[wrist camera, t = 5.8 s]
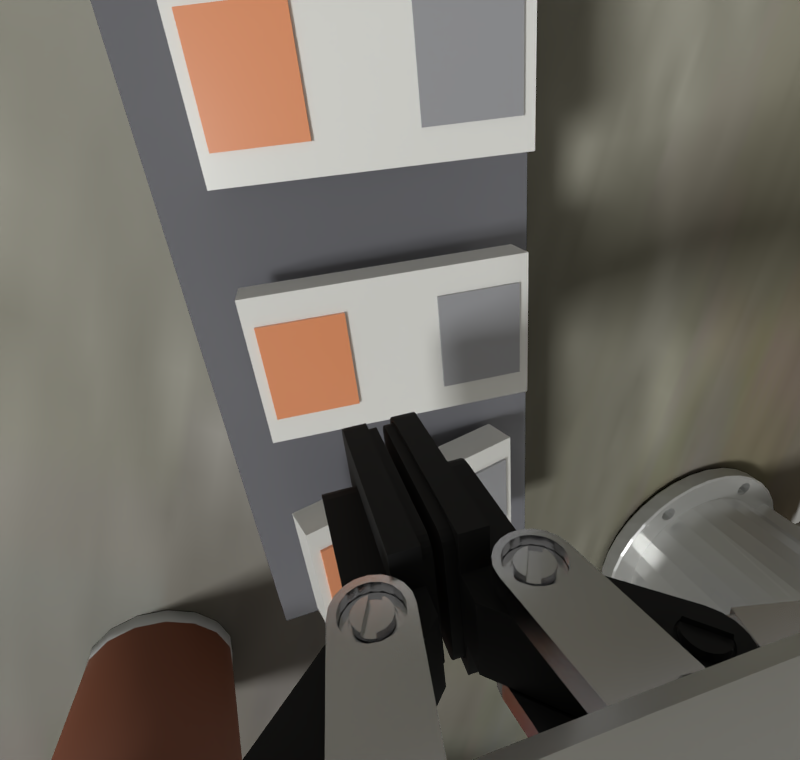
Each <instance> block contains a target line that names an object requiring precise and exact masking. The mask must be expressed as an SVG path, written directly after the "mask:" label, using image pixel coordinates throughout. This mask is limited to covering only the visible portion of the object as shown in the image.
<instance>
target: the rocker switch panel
mask: <svg viewBox="0 0 800 760" xmlns="http://www.w3.org/2000/svg"><path fill="white" fill-rule="evenodd" d="M90 1H91V4H92V7H93V10H94V13H95V16H96V20H97V23H98V26H99V29H100V32H101V35H102V39H103V42H104V45H105V48H106V51H107V54H108V58H109V61H110V64H111V67H112V70H113V73H114V77H115V80H116V83H117V86H118V89H119V92H120V96H121V99H122V102H123V105H124V108H125V111H126V115H127V118H128V121H129V124H130V127H131V130H132V133H133V137H134V140H135V143H136V146H137V149H138V152H139V156H140V159H141V162H142V165H143V168H144V171H145V175H146V178H147V181H148V184H149V187H150V190H151V194H152V197H153V200H154V203H155V206H156V209H157V213H158V216H159V219H160V222H161V225H162V228H163V232H164V235H165V238H166V241H167V244H168V247H169V251H170V254H171V257H172V260H173V263H174V266H175V270H176V273H177V276H178V279H179V282H180V285H181V289H182V292H183V295H184V298H185V301H186V304H187V308H188V311H189V314H190V317H191V320H192V323H193V326H194V330H195V333H196V336H197V339H198V342H199V345H200V349H201V352H202V355H203V358H204V361H205V364H206V368H207V371H208V374H209V377H210V380H211V383H212V387H213V390H214V393H215V396H216V399H217V402H218V406H219V409H220V412H221V415H222V418H223V421H224V425H225V428H226V431H227V434H228V437H229V440H230V444H231V447H232V450H233V453H234V456H235V459H236V463H237V466H238V469H239V472H240V475H241V478H242V482H243V485H244V488H245V491H246V494H247V497H248V501H249V504H250V507H251V510H252V513H253V516H254V520H255V523H256V526H257V529H258V532H259V535H260V538H261V542H262V545H263V548H264V551H265V554H266V557H267V561H268V564H269V567H270V570H271V573H272V576H273V580H274V583H275V586H276V589H277V592H278V595H279V599H280V602H281V605H282V608H283V611H284V614H285V618H286V621H287V620H290V619H294V618H297V617H300V616H303V615H306V614H309V613H312V612H315V611H318V608H317V604H316V600H315V597H314V593H313V589H312V585H311V582H310V578H309V574H308V571H307V567H306V563H305V559H304V556H303V552H302V548H301V545H300V541H299V537H298V533H297V530H296V526H295V522H294V519H293V515H292V513H294V512H296V511H298V510H301V509H303V508H305V507H307V506H309V505H312V504H314V503H316V502H318V501H320V500H322V494H326V493H330V492H333V491H337V490H341V489H345V488H349V487H351V486H352V484H351V479H350V473H349V468H348V463H347V457H346V452H345V447H344V441H343V436H342V429H340V430H335V431H330V432H325V433H320V434H316V435H311V436H306V437H301V438H296V439H291V440H286V441H281V442H277V443H273V441H272V437H271V433H270V430H269V426H268V422H267V418H266V415H265V411H264V407H263V404H262V400H261V396H260V392H259V389H258V385H257V381H256V378H255V374H254V370H253V366H252V363H251V359H250V355H249V352H248V348H247V344H246V340H245V337H244V333H243V329H242V326H241V322H240V318H239V314H238V311H237V307H236V303H235V298H236V294H237V291H238V288H242V287H248V286H254V285H260V284H267V283H273V282H279V281H285V280H291V279H298V278H304V277H310V276H316V275H322V274H329V273H335V272H341V271H347V270H353V269H360V268H366V267H372V266H378V265H384V264H391V263H397V262H403V261H409V260H415V259H422V258H428V257H434V256H440V255H447V254H453V253H459V252H465V251H471V250H478V249H484V248H490V247H496V246H502V245H509V244H512V245H514V246H516V247H518V248H520V249H523V250H525V251H526V247H527V152H522V153H514V154H506V155H498V156H489V157H481V158H473V159H465V160H456V161H448V162H440V163H432V164H424V165H415V166H407V167H399V168H391V169H382V170H374V171H366V172H358V173H350V174H341V175H333V176H325V177H317V178H308V179H300V180H292V181H284V182H276V183H267V184H259V185H251V186H243V187H234V188H226V189H218V190H210V191H207V187H206V184H205V180H204V176H203V172H202V169H201V165H200V161H199V157H198V154H197V150H196V146H195V142H194V139H193V135H192V131H191V128H190V124H189V120H188V116H187V113H186V109H185V105H184V101H183V98H182V94H181V90H180V86H179V83H178V79H177V75H176V71H175V68H174V64H173V60H172V56H171V53H170V49H169V45H168V41H167V38H166V34H165V30H164V27H163V23H162V19H161V15H160V12H159V8H158V4H157V0H90ZM417 416H418V417H419V419H420V421H421V422H422V424H423V425H424V427H425V428H426V430H427V431H428V433H429V434H430V436H431V437H432V439H433V440H434V442H435V443H436V445H437V446H438V447H439V446H441V445H443V444H445V443H448V442H450V441H452V440H454V439H456V438H458V437H461V436H463V435H465V434H467V433H469V432H472V431H474V430H476V429H478V428H480V427H483V426H485V425H487V424H490V425H492V426H493V427H495V428H496V429H498V430H500V431H501V432H503V433H504V434H506V435H507V436H509V437H510V465H511V524H512V525H513V526H514V528H515V529H516V531H517V530H520V529H524V528H525V392H520V393H515V394H510V395H505V396H501V397H496V398H491V399H486V400H481V401H476V402H471V403H467V404H462V405H457V406H452V407H447V408H442V409H437V410H432V411H428V412H423V413H418V414H417ZM387 424H390V419H389V420H384V421H379V422H374V423H369V424H366V425H367V427H368V429H371V428H375V427H376V428H377V429H378V431H379V433H380V435H381V438H382V440H383V442H384V444H385V441H384V434H383V425H387Z"/></svg>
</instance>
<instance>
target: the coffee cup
mask: <svg viewBox="0 0 800 760" xmlns="http://www.w3.org/2000/svg"><path fill="white" fill-rule="evenodd" d="M52 760H242V755H241V745H240V735H239V725H238V714H237V704H236V694H235V684H234V674H233V653H232V646H231V639H230V635H229V634H228V633H227V632H226V631H225V630H224V629H223V627H222V626H221V625H220V624H219V623H218V622H217V621H215V620H212V619H210V618H208V617H205V616H203V615H201V614H198V613H196V612H184V611H170V610H166V611H161V612H156V613H151V614H146V615H141V616H136V617H134V618H132V619H130V620H128V621H126V622H124V623H122V624H120V625H118V626H116V627H114V628H112V629H110V630H109V631H108V632H107V633H106V634H105V635H104V636H103V637H102V638H101V639H100V640H99V641H98V642H97V643H96V644H95V645H94V646H93V647H92V650H91V653H90V656H89V659H88V662H87V665H86V669H85V672H84V674H83V677H82V680H81V682H80V685H79V688H78V690H77V693H76V696H75V698H74V701H73V704H72V706H71V709H70V712H69V714H68V717H67V720H66V722H65V725H64V728H63V730H62V733H61V736H60V738H59V741H58V744H57V746H56V749H55V752H54V754H53V757H52Z"/></svg>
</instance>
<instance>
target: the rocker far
mask: <svg viewBox="0 0 800 760" xmlns="http://www.w3.org/2000/svg"><path fill="white" fill-rule="evenodd" d="M438 448H439V449H440V451H441V452H442V454H443V455H444V457H445V458H446V460H447V461H451V460H455V459H459V458H463V459H465V460H466V462H467V463H468V464H469V465H470V467H471V468H472V470H473V471H474V472H475V474H476V475H477V476H478V478H479V479H480V481H481V482H482V483H483V485H484V486H485V488H486V489H487V490H488V492H489V493H490V494H491V496H492V497H493V499H494V500H495V501H496V503H497V504H498V506H499V507H500V508H501V510H502V511H503V512H504V514H505V515H506V517H507V518H508V519H509V521H510V522H511V465H510V437H509V436H507V435H506V434H504V433H503V432H501V431H500V430H498V429H496V428H495V427H493V426H492V425H490V424H487V425H485V426H483V427H480V428H478V429H476V430H474V431H472V432H469V433H467V434H465V435H463V436H461V437H458V438H456V439H454V440H452V441H450V442H448V443H445V444H443V445H441V446H439V447H438ZM351 487H352V486H351ZM292 515H293V519H294V522H295V526H296V530H297V533H298V537H299V541H300V545H301V548H302V552H303V556H304V559H305V563H306V567H307V571H308V574H309V578H310V582H311V585H312V589H313V593H314V597H315V600H316V604H317V608H318V610H319V611H320V613H321V615H322V617H323V619H324V620H325V622H326V615H327V610H328V606H329V604H330V602H331V601H332V599H333V597H334V595H335V594H336V593H337V592H338V591H339V590H340V589H341V588H342V585H341V580H340V576H339V571H338V567H337V562H336V558H335V553H334V549H333V544H332V540H331V536H330V531H329V527H328V522H327V518H326V513H325V509H324V504H323V500H320V501H318V502H316V503H314V504H312V505H309V506H307V507H305V508H303V509H301V510H298V511H296V512H294V513H292Z"/></svg>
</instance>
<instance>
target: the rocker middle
mask: <svg viewBox="0 0 800 760" xmlns="http://www.w3.org/2000/svg"><path fill="white" fill-rule="evenodd" d="M528 253H529V252H527V251H525V250H523V249H520V248H518V247H516V246H514V245H512V244H509V245H502V246H496V247H490V248H484V249H478V250H471V251H465V252H459V253H453V254H447V255H440V256H434V257H428V258H422V259H415V260H409V261H403V262H397V263H391V264H384V265H378V266H372V267H366V268H360V269H353V270H347V271H341V272H335V273H329V274H322V275H316V276H310V277H304V278H298V279H291V280H285V281H279V282H273V283H267V284H260V285H254V286H248V287H242V288H238V291H237V294H236V298H235V303H236V307H237V311H238V314H239V318H240V322H241V326H242V329H243V333H244V337H245V340H246V344H247V348H248V352H249V355H250V359H251V363H252V366H253V370H254V374H255V378H256V381H257V385H258V389H259V392H260V396H261V400H262V404H263V407H264V411H265V415H266V418H267V422H268V426H269V430H270V433H271V437H272V441H273V443H277V442H281V441H286V440H291V439H296V438H301V437H306V436H311V435H316V434H320V433H325V432H330V431H335V430H340V429H343V428H347V427H352V426H356V425H360V424H364V423H366V424H369V423H374V422H379V421H384V420H389V419H390V418H391V417H394V416H398V415H402V414H406V413H410V412H415V413H416V414H418V413H423V412H428V411H432V410H437V409H442V408H447V407H452V406H457V405H462V404H467V403H471V402H476V401H481V400H486V399H491V398H496V397H501V396H505V395H510V394H515V393H520V392H525V391H527V364H528Z"/></svg>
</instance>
